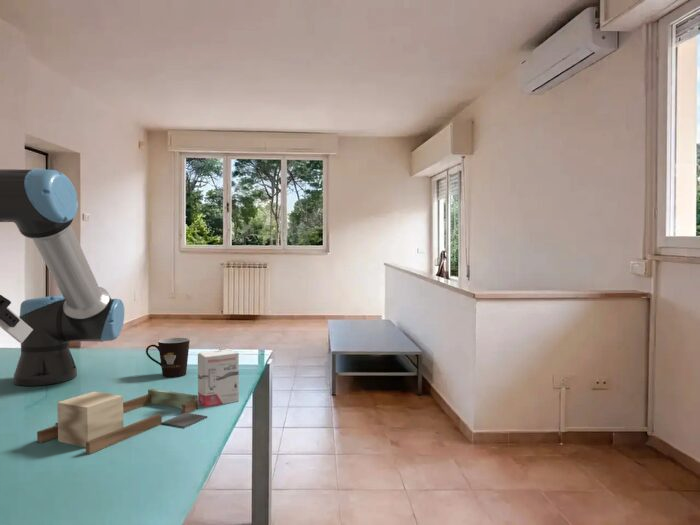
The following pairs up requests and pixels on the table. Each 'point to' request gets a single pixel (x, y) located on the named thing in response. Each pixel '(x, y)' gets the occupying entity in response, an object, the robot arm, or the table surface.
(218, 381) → the ink box
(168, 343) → the coffee mug
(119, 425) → the beech block
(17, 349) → the table surface
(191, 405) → the channel
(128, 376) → the table surface
